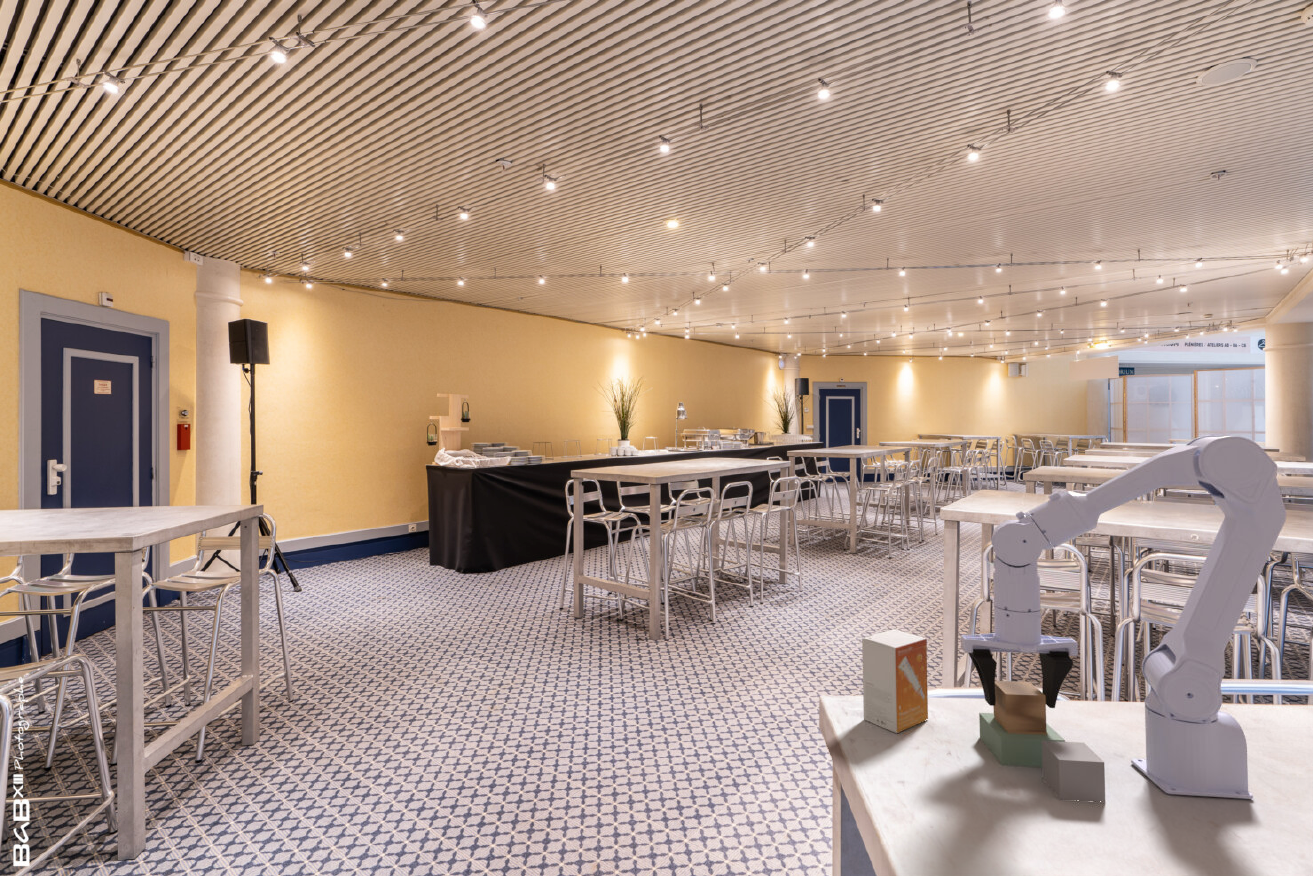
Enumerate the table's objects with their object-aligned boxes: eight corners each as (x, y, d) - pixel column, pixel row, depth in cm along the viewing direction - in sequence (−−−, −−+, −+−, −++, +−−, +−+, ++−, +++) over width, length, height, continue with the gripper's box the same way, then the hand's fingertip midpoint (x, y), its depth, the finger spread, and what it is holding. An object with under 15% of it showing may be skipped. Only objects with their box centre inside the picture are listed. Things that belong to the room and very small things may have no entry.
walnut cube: (1031, 717, 91) (1030, 682, 91) (1046, 732, 86) (1045, 695, 87) (993, 715, 92) (992, 680, 92) (1007, 730, 87) (1005, 694, 87)
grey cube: (1084, 781, 82) (1083, 742, 82) (1105, 804, 77) (1104, 762, 77) (1042, 779, 82) (1041, 740, 82) (1060, 801, 77) (1059, 759, 78)
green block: (1038, 742, 93) (1037, 712, 93) (1065, 770, 85) (1064, 738, 85) (980, 740, 94) (979, 710, 94) (1001, 767, 86) (1001, 735, 86)
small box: (897, 735, 95) (895, 647, 95) (862, 720, 101) (860, 637, 101) (929, 720, 100) (927, 637, 100) (894, 707, 105) (892, 628, 105)
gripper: (971, 613, 87) (973, 713, 87) (1088, 616, 84) (1090, 718, 84) (955, 600, 94) (957, 693, 94) (1063, 602, 91) (1065, 697, 91)
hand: (1019, 704), depth 89 cm, fingers open, 7 cm apart
